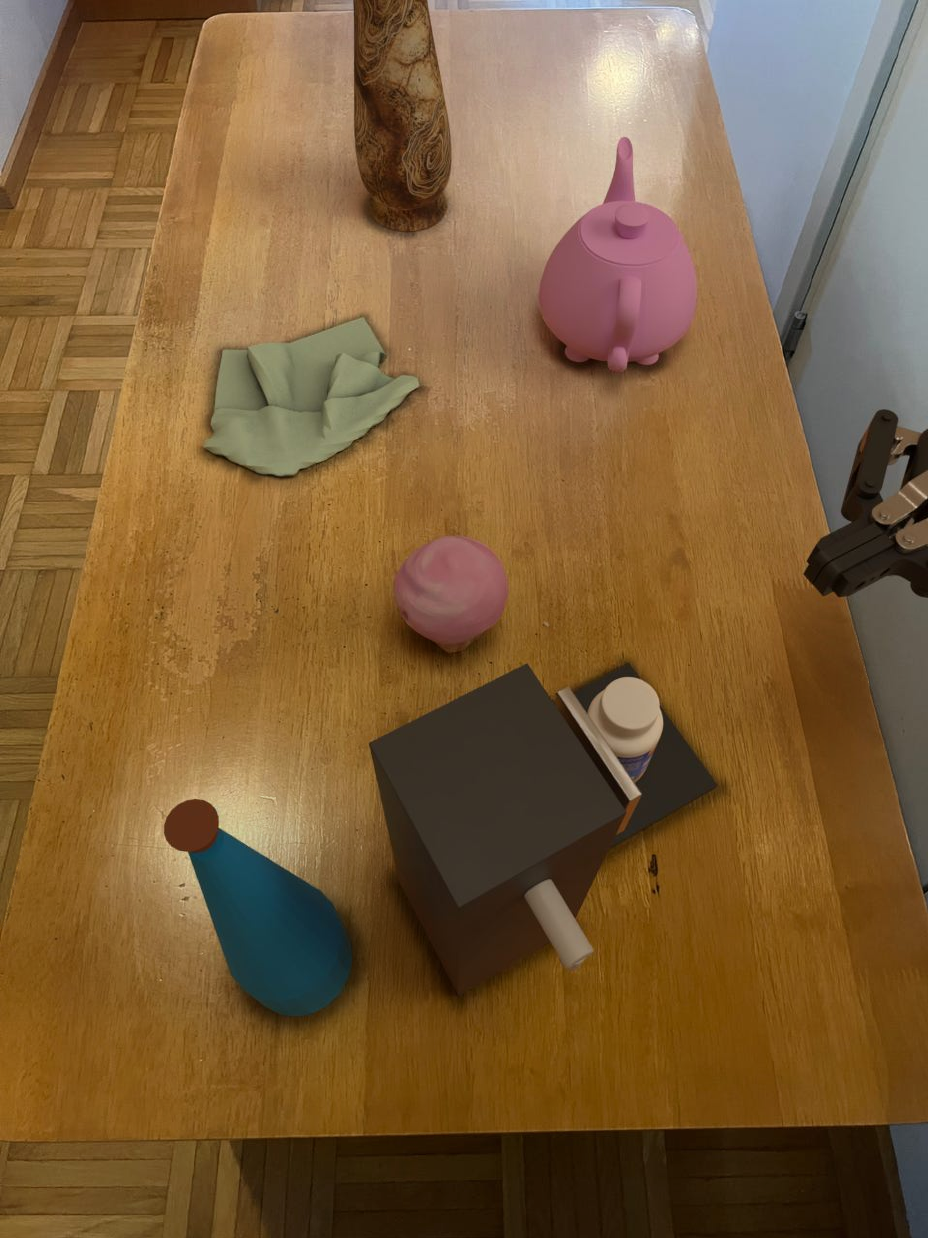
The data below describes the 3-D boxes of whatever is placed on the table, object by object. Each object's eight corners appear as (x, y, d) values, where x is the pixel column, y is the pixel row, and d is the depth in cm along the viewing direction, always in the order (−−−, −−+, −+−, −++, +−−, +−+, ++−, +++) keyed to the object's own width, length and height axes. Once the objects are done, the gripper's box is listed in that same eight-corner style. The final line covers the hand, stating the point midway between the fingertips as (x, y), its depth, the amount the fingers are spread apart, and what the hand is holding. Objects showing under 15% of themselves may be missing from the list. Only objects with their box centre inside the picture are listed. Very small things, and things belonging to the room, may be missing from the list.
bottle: (328, 888, 67) (238, 716, 41) (370, 983, 64) (301, 864, 38) (232, 936, 66) (73, 790, 39) (270, 1037, 62) (125, 951, 36)
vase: (451, 236, 103) (448, -73, 77) (355, 236, 103) (320, -73, 77) (452, 178, 108) (449, -131, 82) (361, 177, 108) (329, -131, 82)
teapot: (537, 249, 102) (547, 130, 90) (679, 255, 102) (708, 135, 90) (533, 398, 91) (545, 284, 79) (693, 405, 91) (728, 292, 79)
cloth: (183, 470, 86) (176, 453, 84) (238, 307, 97) (233, 288, 95) (400, 490, 85) (398, 473, 83) (431, 323, 96) (430, 305, 94)
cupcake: (456, 567, 81) (456, 497, 72) (526, 631, 78) (534, 566, 69) (378, 627, 78) (367, 561, 69) (447, 696, 75) (445, 636, 66)
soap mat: (716, 787, 71) (718, 785, 71) (584, 863, 68) (585, 861, 68) (627, 665, 76) (629, 662, 76) (501, 731, 73) (502, 728, 73)
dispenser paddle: (624, 830, 52) (642, 794, 47) (612, 837, 52) (629, 801, 47) (558, 729, 55) (568, 685, 50) (546, 735, 55) (555, 691, 50)
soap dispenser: (601, 984, 64) (679, 890, 42) (488, 1054, 62) (505, 995, 39) (505, 822, 70) (527, 662, 47) (398, 881, 67) (368, 742, 45)
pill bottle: (650, 790, 70) (676, 740, 62) (579, 790, 70) (595, 739, 62) (643, 724, 73) (667, 667, 65) (574, 724, 73) (589, 667, 65)
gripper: (1014, 311, 49) (753, 433, 45) (1226, 485, 43) (950, 644, 39) (950, 410, 56) (716, 525, 51) (1126, 573, 50) (880, 717, 46)
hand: (818, 576), depth 45 cm, fingers closed
